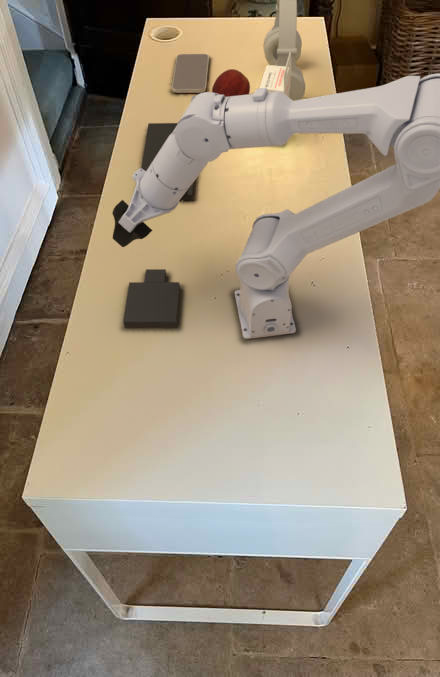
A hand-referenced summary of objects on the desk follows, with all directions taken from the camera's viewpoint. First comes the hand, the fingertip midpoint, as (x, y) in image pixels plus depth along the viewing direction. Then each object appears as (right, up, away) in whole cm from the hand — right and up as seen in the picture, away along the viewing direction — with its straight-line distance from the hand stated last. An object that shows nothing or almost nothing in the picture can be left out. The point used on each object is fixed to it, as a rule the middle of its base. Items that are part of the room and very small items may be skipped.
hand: (133, 227), depth 88 cm
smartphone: (+6, +42, +46) cm, 63 cm away
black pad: (+3, +17, +28) cm, 33 cm away
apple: (+15, +32, +38) cm, 52 cm away
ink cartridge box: (+23, +25, +33) cm, 47 cm away
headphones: (+26, +39, +43) cm, 64 cm away
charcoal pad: (+2, -10, +7) cm, 13 cm away
